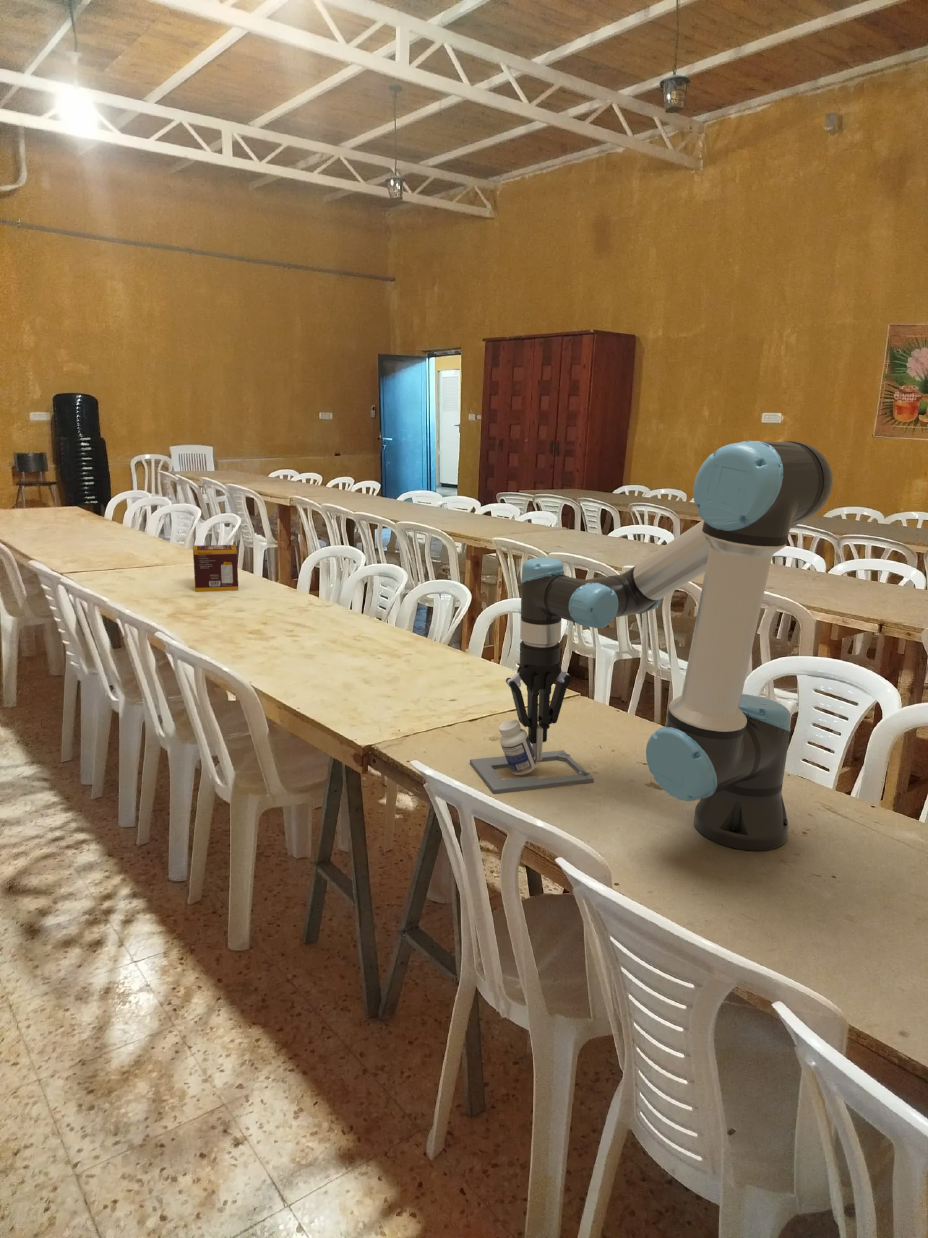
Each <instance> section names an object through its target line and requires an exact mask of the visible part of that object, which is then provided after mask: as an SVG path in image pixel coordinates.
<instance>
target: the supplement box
mask: <svg viewBox="0 0 928 1238" xmlns="http://www.w3.org/2000/svg"><path fill="white" fill-rule="evenodd" d="M192 554H193V555H192V556H193V573H194V574H193V575H194V586H195V587H194V588H195V593H207V592H208V593H209V592H230V591H231V592H235V591H239V571H238V570H239V567H238V550H237V547H236V544H216V545H215V544H214V545H210V544H208V545H205V544H203V545H193V546H192Z"/></svg>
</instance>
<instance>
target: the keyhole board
mask: <svg viewBox="0 0 928 1238" xmlns="http://www.w3.org/2000/svg"><path fill="white" fill-rule="evenodd" d="M557 760H558V761H561V762H566V763H567V764H568V765H569V766H570V767H571V768H573V770H574V771H576V772H577V773H576V774H567V775H558V776H551V777H550V776H547V777H542V778H541V777H539V776H538V775H533V776H532V775H530V776H524V777H514V778H507V779H502V778H501V776H500V775H499V773H497V771H496V770H498V769H506V768H507V769H508V768H509V769H510V767H509V765H508V762H507V759H506V757H505V755H503V756H501V755H500V756H493V757H483V758H472V759H469V765H470V766H471V767H472V768H473V769H474V771H475V772H476V773H477V774H478V776H479V777H480V778H481V780H482V781H483V782H484V784H485V785H486V786H487V787H488V789H489V790H490V791H491V792H492V794H493V795H497V794H504V793H515V792H521V791H522V792H523V791H530V790H539V789H548V788H556V787H566V786H575V785H583V784H590V783H591V784H592V783H594V782H595V778H594V777H593V776H592V775H591V772H588V771H587V770H585V769H584V768H583V767H582V766H581V765H580V764H579V763H578V762H577V761H576V760H575V759H573V758H572V757H571V754H569V753H567V752H566V751H565V750H564V749H562V750H551V751H542V760H539V761H537V763H538V762H539V763H540V762H548V761H549V762H550V761H557ZM495 769H496V770H495Z"/></svg>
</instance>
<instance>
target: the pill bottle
mask: <svg viewBox="0 0 928 1238" xmlns="http://www.w3.org/2000/svg"><path fill="white" fill-rule="evenodd" d="M498 731H499V732H500V735H501V736H500V739H499V743H500V746H501V748H502V749H501V750H502V751H503V754H504V756H505V757H506V759H507V762H508V765H509V769H510V772H511V773H512V774H513V775H516V776H524V775H527V774H530V773H531V772H532V771H534V770H535V769H536V767H537V766H538V762H537V760H536V757H535V754H534V752H533V749H532V744H531V743H530V741H529V738H528V732H527V731H526V730H525V729H523V728H521V723H520V722H519V719H515V718H514V719H508V720H506V721H503V722H502V723H500V725H499V726H498Z"/></svg>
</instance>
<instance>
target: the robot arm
mask: <svg viewBox="0 0 928 1238" xmlns="http://www.w3.org/2000/svg"><path fill="white" fill-rule="evenodd" d="M833 480H834V477H833V471H832V468H831V466H830V462H829V461H828V460H827V458H826V457H825V456H824V455H823V453H822V452H821V451H820V450H819V449H817V448H816V447H814V446H812V445H809V444H807V443H804V442H800V441H795V440H793V441H761V440H744V441H740V442H735V443H730V444H726V445H724V446H721V447H720V448H718V449H717V450H715V451H714V452H713V453H711V454H710V455H709V456H707V458H706V459H705V460H704V461H703V463H702V464H701V466H700V468H699V470H698V471H697V473H696V477H695V479H694V485H693V501H694V505H695V507H696V508H697V512H698V515H699V517H700V518H701V519H702V520H701V521H700V522H698V523H696V524H694V525H693V526H692V527H690V528H689V529H687V530H686V531H684V532H682V533H681V534H680V535H679V536H677V537H676V538H674V539H672V540H671V541H669V542H668V543H666V544H665V545H664V546H662V547H660V548H659V549H657V550H656V551H655V552H653V553H652V554H650V555H648V556H647V557H646V558H645V559H643V560H642V561H640V562H638V563H637V564H636V565H634V566H633V567H631V568H630V569H628V570H627V571H625V572H623V573H621V574H616V575H615V574H614V575H609V576H602V577H596V578H595V577H594V578H588V579H580V578H576V577H572V576H571V577H570V576H568V575H565V574H564V573H565V570H564V564H563V562H562V561H560V560H559V559H556V558H553V557H534V558H529V559H527V560H525V561H524V562H523V565H522V567H521V568H522V570H521V580H520V587H521V588H520V590H521V591H520V637H519V639H520V640H521V641H520V643H519V666H518V667H517V671H516V674H515V675H514V676H512V677H507V678H506V679H505V683H506V685H507V686H508V687H509V689H510V691H511V695H512V698H513V703H514V707H515V711H516V713H517V714H516V715H517V718H518V719H517V720H518V721H519V724H520V725H522V726H523V727H525V728H527V735H528V738H529V741H530V744H531V746H532V749H533V752H534V754H535V757H536V760H537V761H539V760H542V752H543V743H546V742H547V741H548V730H549V729H550V727H551V726H550V725H551V724H556V723H557V722H558V719H559V716H560V712H561V709H562V705H563V703H564V699H565V695H566V692H567V688H568V686H569V685H570V683H572V681H573V676H572V675H571V674H569V673H568V672H566V671H563V670H562V667H561V664H560V660H561V643H560V641H561V639H562V638H561V637H562V619H563V620H565V621H569V622H572V623H575V624H578V625H579V626H582V627H587V628H592V629H593V628H594V629H604V628H607V626H608V625H609V624H610V623H612V622H614V619H616V618H619V617H625V616H630V615H642V614H644V613H646V612H649V611H653V610H655V609H656V608H658V607H659V606H660V605H661V602H662V600H663V599H664V598H665V597H667V596H668V595H670V594H672V593H673V592H675V591H676V590H678V589H679V588H681V587H683V586H684V585H686V584H688V583H690V582H691V581H692V580H695V579H697V578H698V577H699V576H701V575H704V576H703V581H702V587H701V591H700V597H699V602H698V607H697V613H696V617H695V624H694V629H693V634H692V639H691V642H690V643H691V646H690V649H689V655H688V659H687V664H686V665H687V666H686V671H685V674H684V681H683V687H682V692H681V694H680V695H679V696H678V697H676V698H674V699H672V700H671V701H670V703H669V705H668V710H667V715H666V719H665V725H664V727H663V726H662V727H660V728H658V729H657V730H655V731H654V733H652V734H651V736H649V738H648V740H647V742H646V748H645V756H646V762H647V766H648V768H649V769H648V770H649V772H650V774H652V776H653V777H654V780H655V782H656V783H657V784H658V786H659V787H660V788H661V789H662V790H663V791H664V792H666V794H668V795H669V796H671V797H673V798H675V799H678V800H680V801H683V802H684V801H685V802H691V801H697V800H699V801H698V803H697V804H696V805H695V810H694V816H693V825H694V827H695V828H696V830H697V831H698V832H699V833H700V834H701V835H702V836H704V837H705V838H707V839H708V840H710V841H712V842H715V843H717V844H719V845H722V846H726V847H729V848H734V849H737V850H744V851H754V852H755V851H757V852H758V851H769V850H774V849H777V848H779V847H781V846H783V845H784V844H785V843H786V842H787V840H788V834H789V820H788V817H787V812H786V807H785V802H784V799H783V794H782V793H783V783H784V777H785V769H786V761H787V756H788V749H789V741H790V733H791V730H792V729H791V717H792V716H791V712H790V710H789V709H788V708H787V707H786V706H785V705H783V704H782V703H779V702H777V701H774V700H772V699H769V698H766V697H763V696H762V697H761V696H758V695H753V694H752V695H751V694H747V693H743V691H744V687H745V681H746V679H747V678H746V677H747V673H748V668H749V664H750V660H751V655H752V650H753V647H754V642H755V637H756V636H755V635H756V632H757V627H758V623H759V618H760V613H761V610H762V603H763V599H764V596H765V595H764V594H765V590H766V586H767V582H768V576H769V572H770V568H771V564H772V560H773V559H772V558H773V556H774V555H775V554H776V553H778V552H780V551H781V550H782V549H783V548H785V547H786V546H787V545H788V539H789V535H790V530H791V529H792V528H794V527H797V526H798V525H800V524H801V523H803V522H805V521H806V520H808V519H810V518H812V517H813V516H815V515H816V514H817V513H819V512H820V511H821V510H822V509H823V508H824V506H826V504H827V502H828V500H829V498H830V496H831V494H832V491H833V485H834V483H833ZM521 681H522V682H523V684H524V685H525V686H526V691H527V703H526V704H527V710H526V706H525V701H524V700H525V699H524V697H523V694H522V693H523V692H522V691H521V687H522V686H521V685H522V683H521ZM554 683H555V686H554V689H553V693H552V686H553V684H554ZM551 694H552V695H551Z"/></svg>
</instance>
